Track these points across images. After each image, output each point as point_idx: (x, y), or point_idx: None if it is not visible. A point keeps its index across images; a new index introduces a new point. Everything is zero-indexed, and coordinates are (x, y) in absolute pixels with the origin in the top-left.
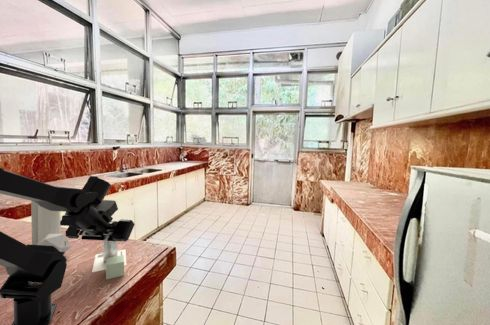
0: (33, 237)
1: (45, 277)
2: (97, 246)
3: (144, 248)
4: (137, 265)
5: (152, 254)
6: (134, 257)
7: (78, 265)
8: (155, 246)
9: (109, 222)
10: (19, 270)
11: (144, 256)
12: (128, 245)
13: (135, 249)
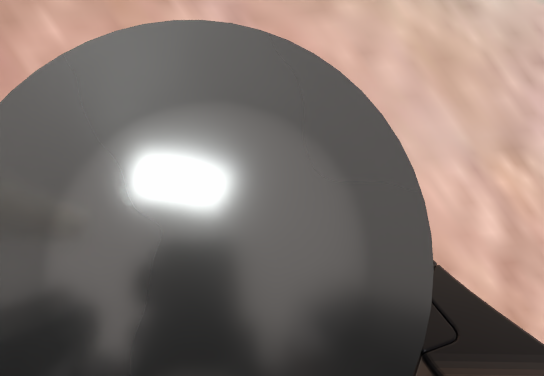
0: None
1: None
2: (29, 70)
3: (411, 51)
4: (528, 314)
5: (537, 133)
6: (423, 196)
7: None
8: (479, 9)
9: (92, 186)
10: None
11: (493, 171)
12: (255, 23)
13: (350, 75)
